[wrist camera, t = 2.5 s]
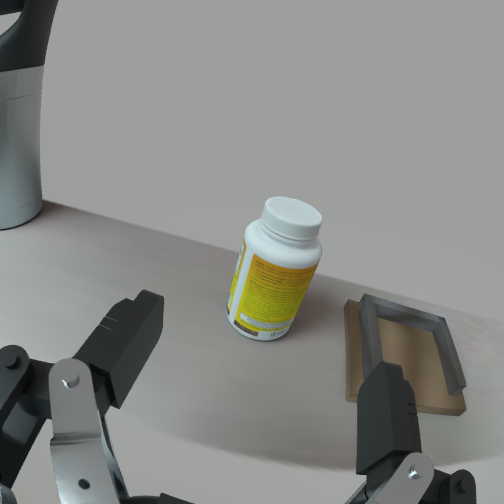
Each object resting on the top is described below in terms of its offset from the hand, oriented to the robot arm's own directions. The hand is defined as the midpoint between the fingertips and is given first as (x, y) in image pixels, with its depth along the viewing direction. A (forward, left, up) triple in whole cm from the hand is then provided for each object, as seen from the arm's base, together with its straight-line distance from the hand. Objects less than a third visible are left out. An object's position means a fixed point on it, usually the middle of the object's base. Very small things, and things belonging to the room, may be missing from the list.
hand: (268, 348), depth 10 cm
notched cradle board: (+14, +11, -10) cm, 20 cm away
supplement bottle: (0, +12, -10) cm, 15 cm away
